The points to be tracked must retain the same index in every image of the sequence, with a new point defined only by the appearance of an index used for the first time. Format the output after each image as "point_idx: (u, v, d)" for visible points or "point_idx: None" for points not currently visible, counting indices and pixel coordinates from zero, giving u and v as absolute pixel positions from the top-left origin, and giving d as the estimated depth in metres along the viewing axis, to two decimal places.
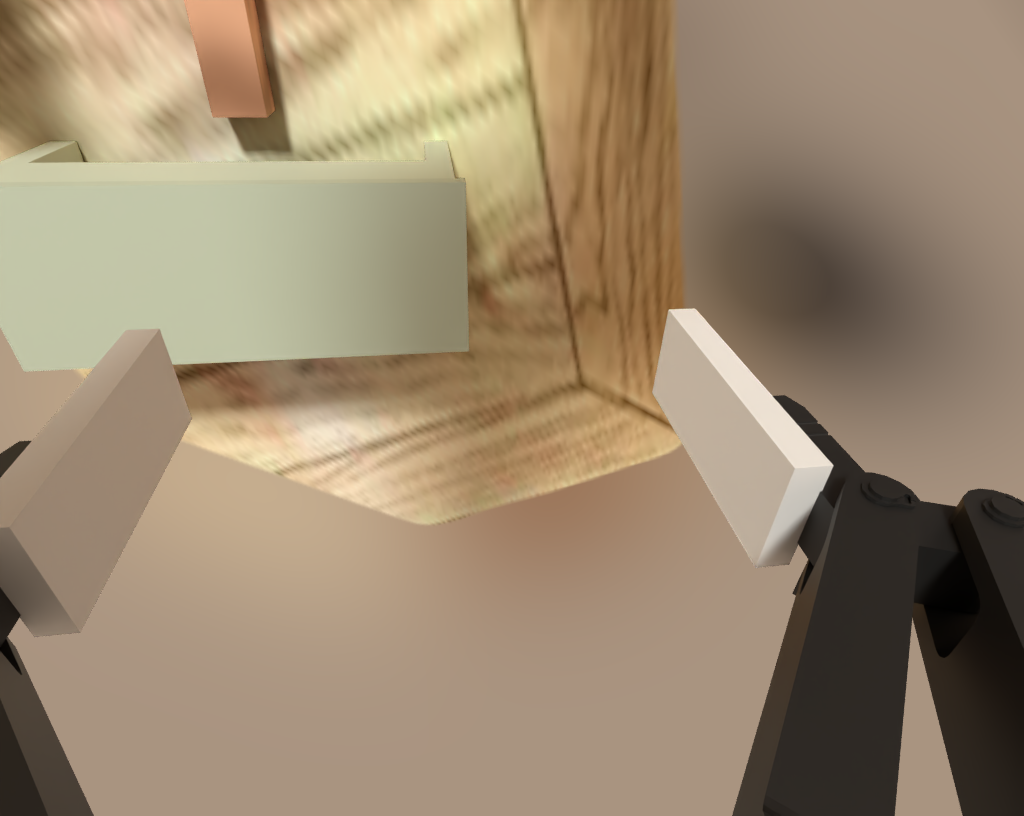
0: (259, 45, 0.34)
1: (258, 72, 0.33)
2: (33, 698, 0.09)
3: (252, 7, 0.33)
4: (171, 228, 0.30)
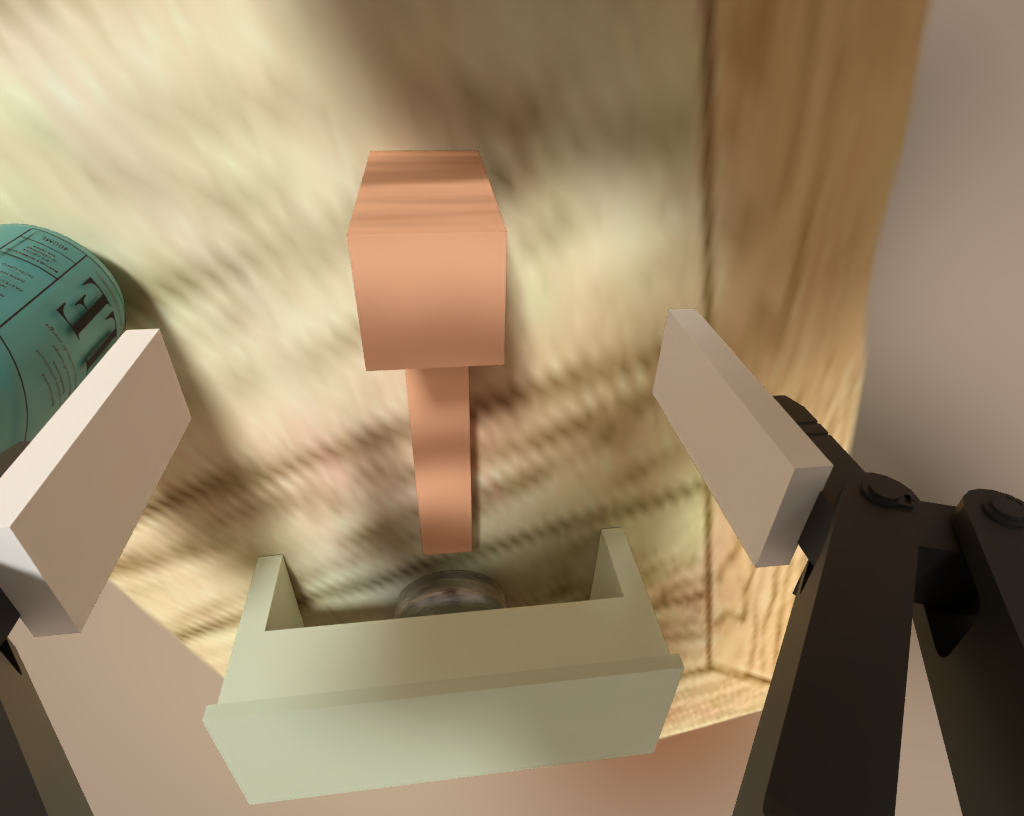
0: None
1: None
2: (33, 698, 0.09)
3: None
4: (411, 718, 0.32)
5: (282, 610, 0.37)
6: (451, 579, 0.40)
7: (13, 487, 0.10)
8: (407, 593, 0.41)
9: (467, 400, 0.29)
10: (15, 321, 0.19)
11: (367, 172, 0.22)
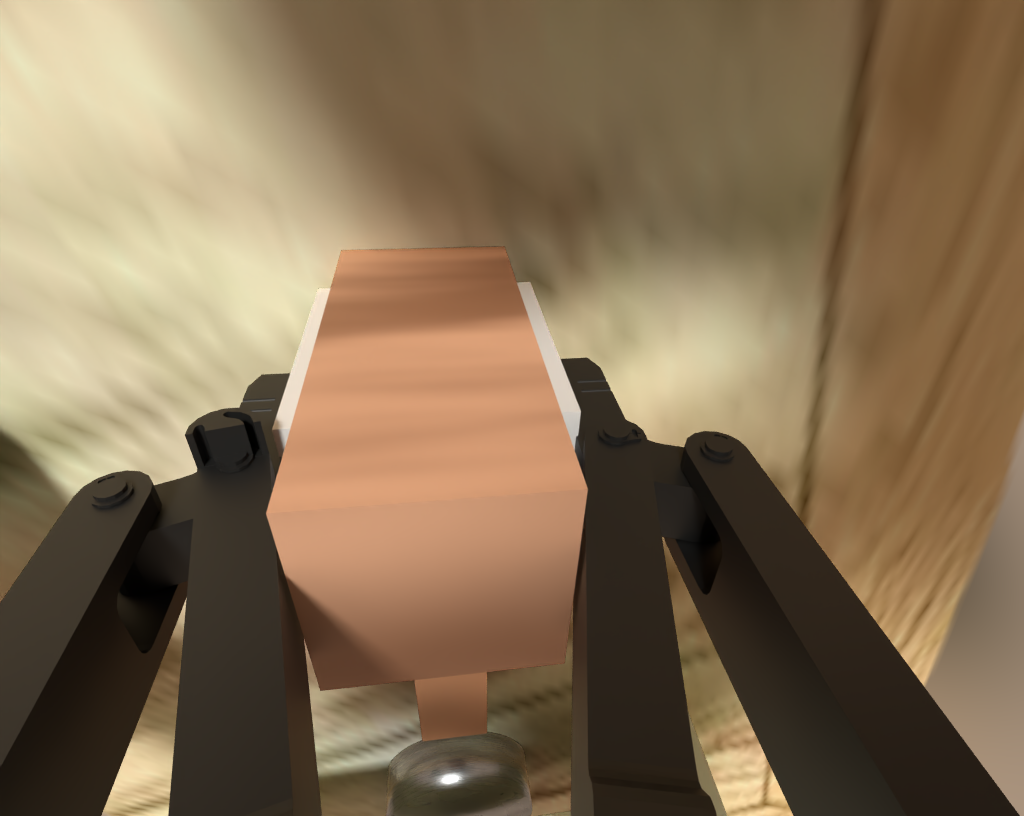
0: None
1: None
2: None
3: None
4: None
5: None
6: (458, 747, 0.32)
7: None
8: (402, 762, 0.32)
9: None
10: None
11: (331, 303, 0.13)
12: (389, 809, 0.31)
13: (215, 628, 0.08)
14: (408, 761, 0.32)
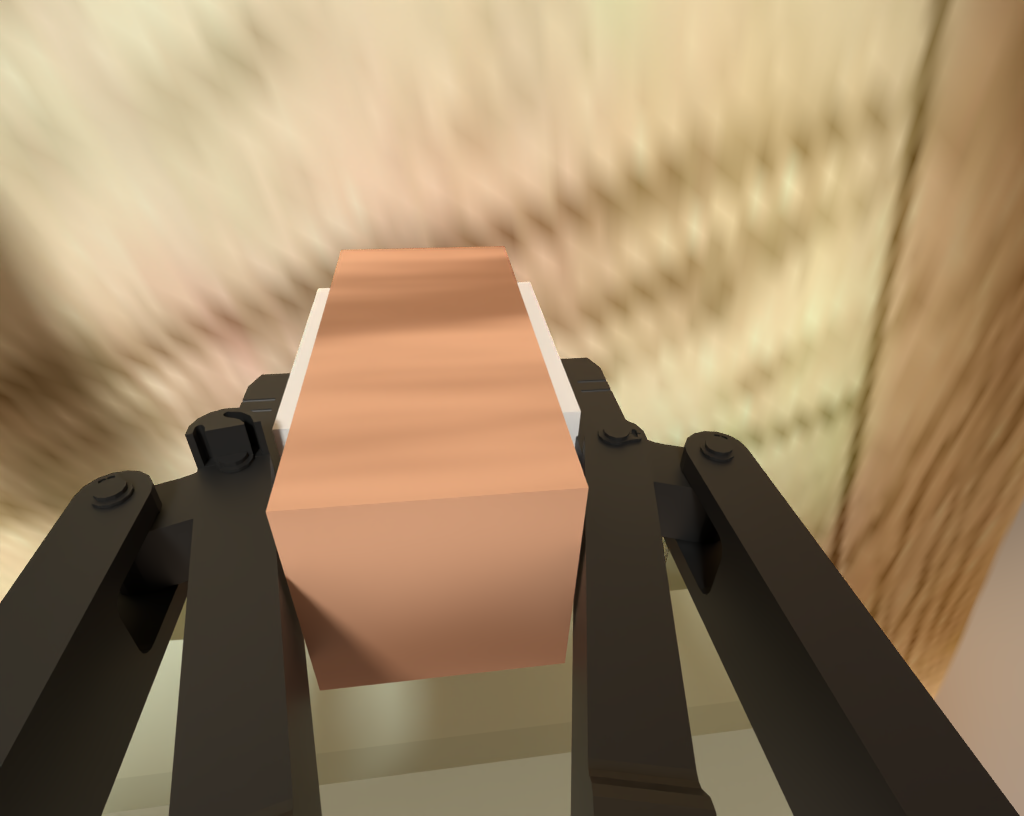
0: None
1: None
2: None
3: None
4: (374, 812, 0.17)
5: None
6: None
7: None
8: None
9: None
10: None
11: (331, 302, 0.13)
12: None
13: (216, 628, 0.08)
14: None
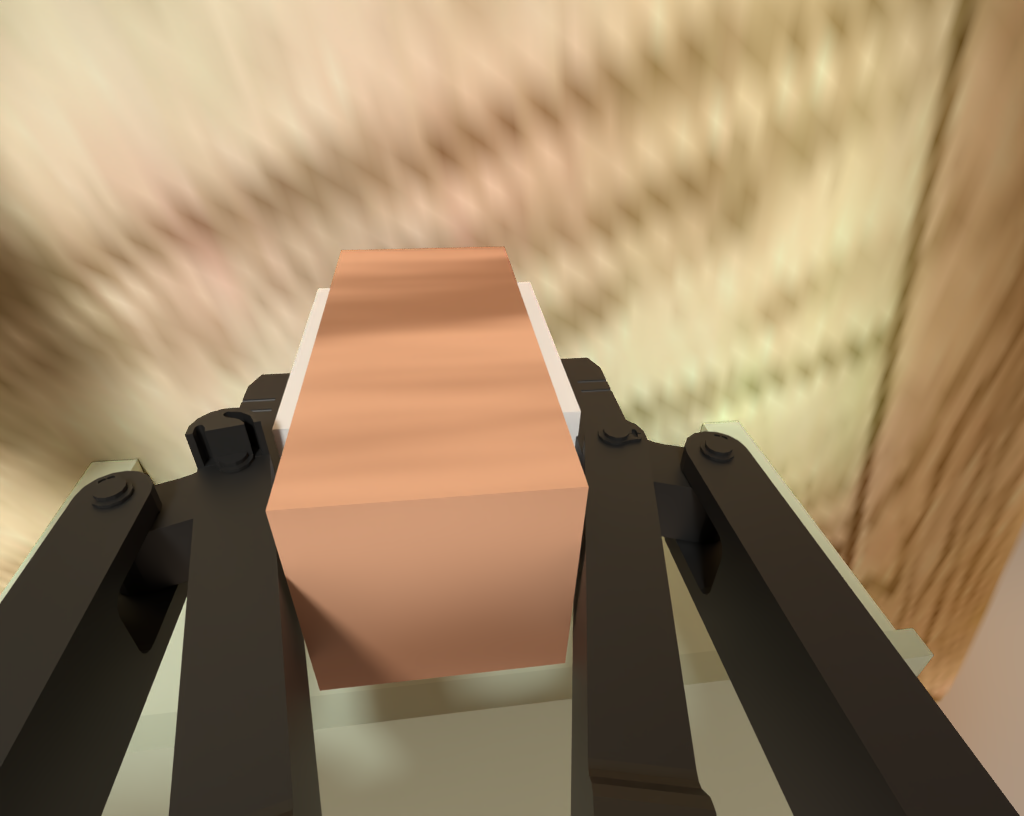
0: None
1: None
2: None
3: None
4: (356, 768, 0.15)
5: None
6: None
7: None
8: None
9: None
10: None
11: (331, 303, 0.13)
12: None
13: (216, 628, 0.08)
14: None
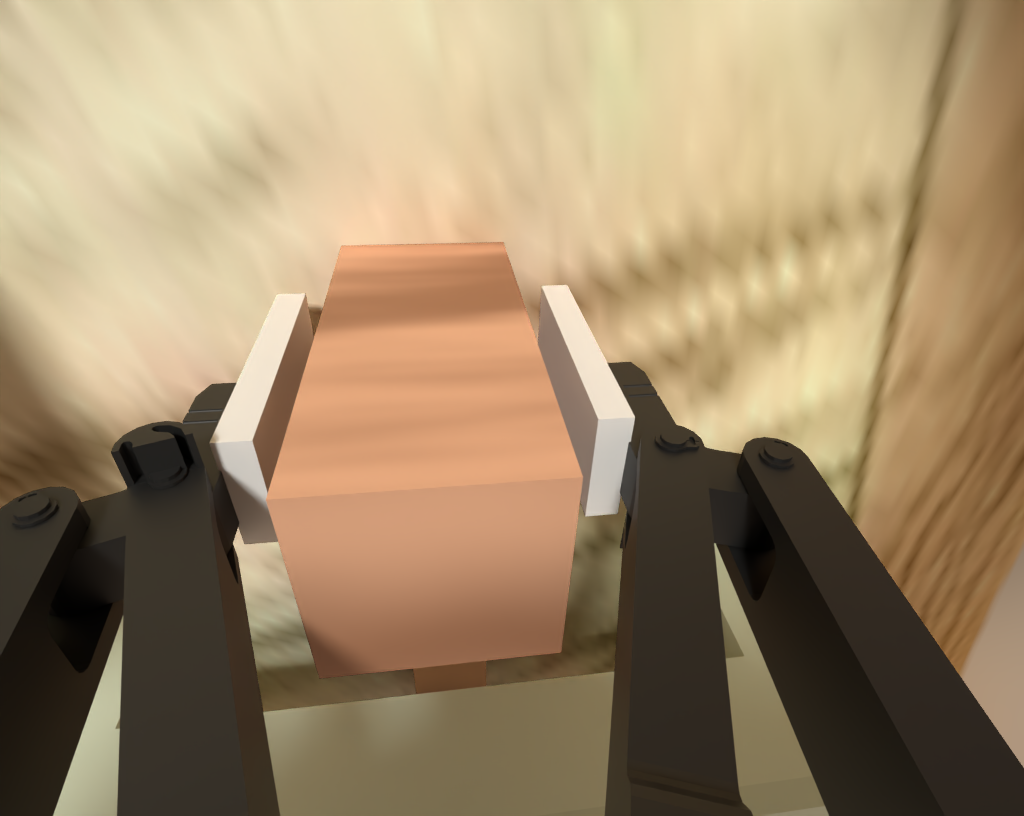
0: None
1: None
2: (242, 607, 0.10)
3: None
4: None
5: None
6: None
7: (241, 412, 0.11)
8: None
9: None
10: None
11: (331, 297, 0.13)
12: None
13: (156, 648, 0.08)
14: None
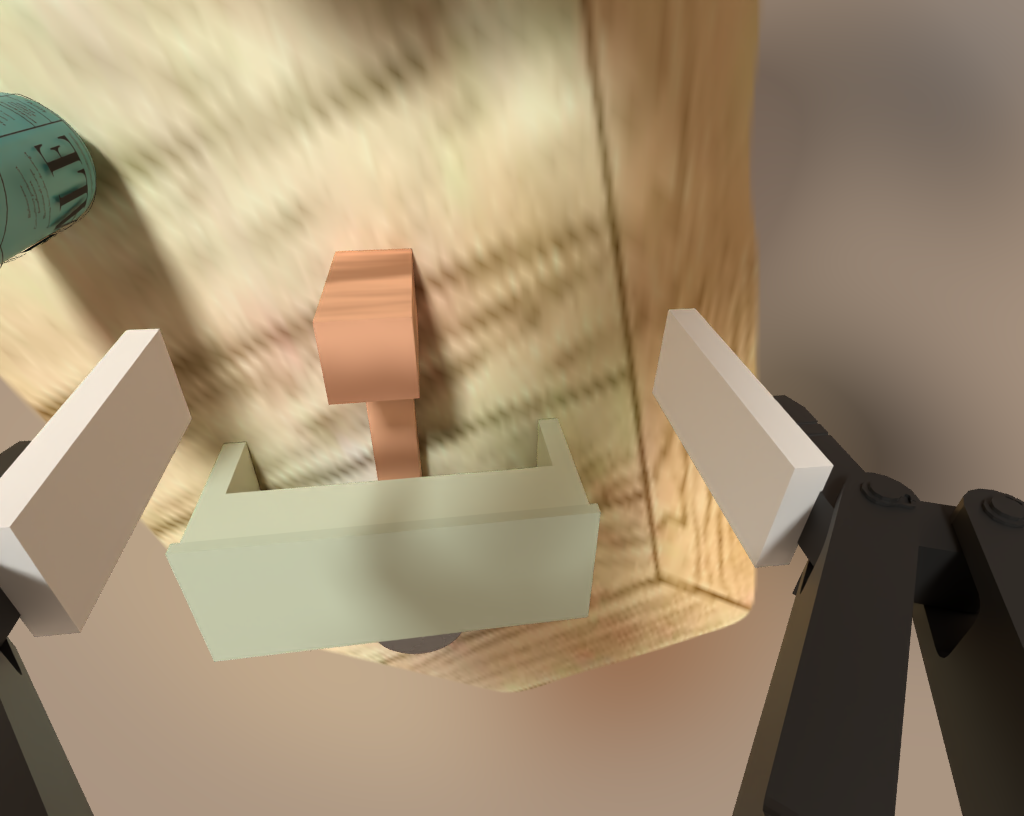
0: None
1: None
2: (33, 698, 0.09)
3: (421, 476, 0.44)
4: (355, 561, 0.35)
5: (245, 489, 0.41)
6: None
7: (14, 487, 0.10)
8: None
9: (413, 423, 0.40)
10: None
11: (331, 271, 0.32)
12: None
13: None
14: None
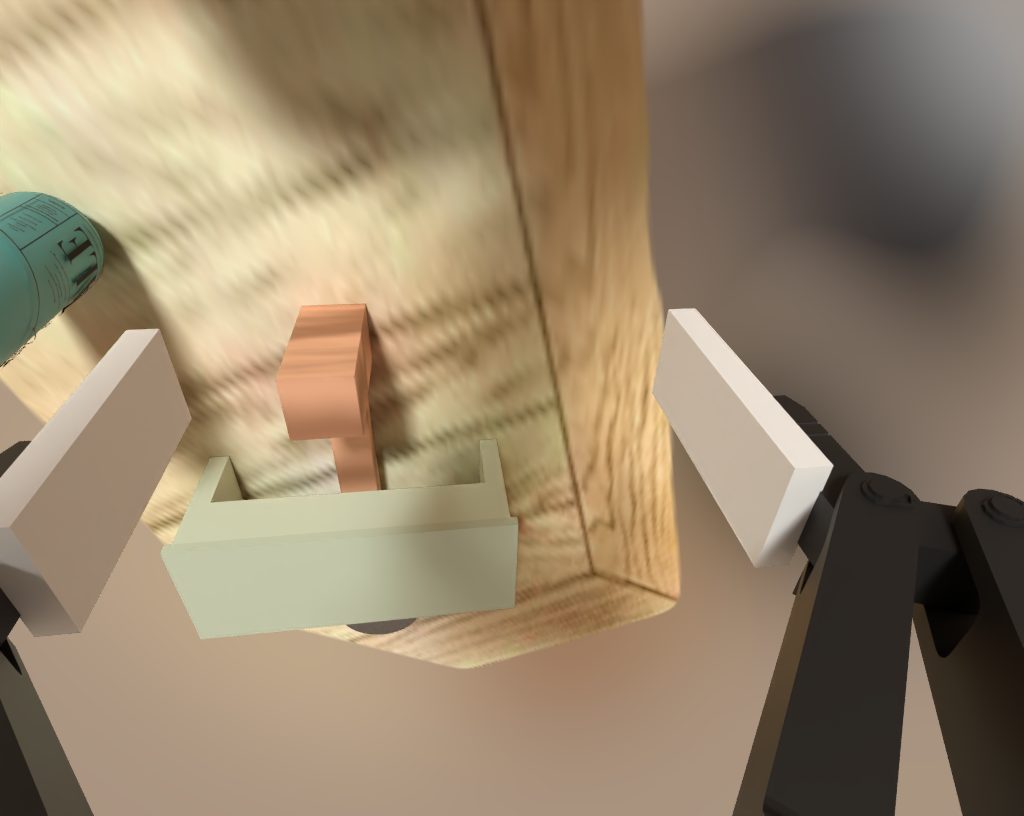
0: None
1: None
2: (33, 698, 0.09)
3: (379, 486, 0.52)
4: (316, 561, 0.43)
5: (227, 496, 0.48)
6: None
7: (13, 487, 0.10)
8: None
9: (369, 444, 0.47)
10: (31, 247, 0.31)
11: (295, 327, 0.40)
12: None
13: None
14: None
